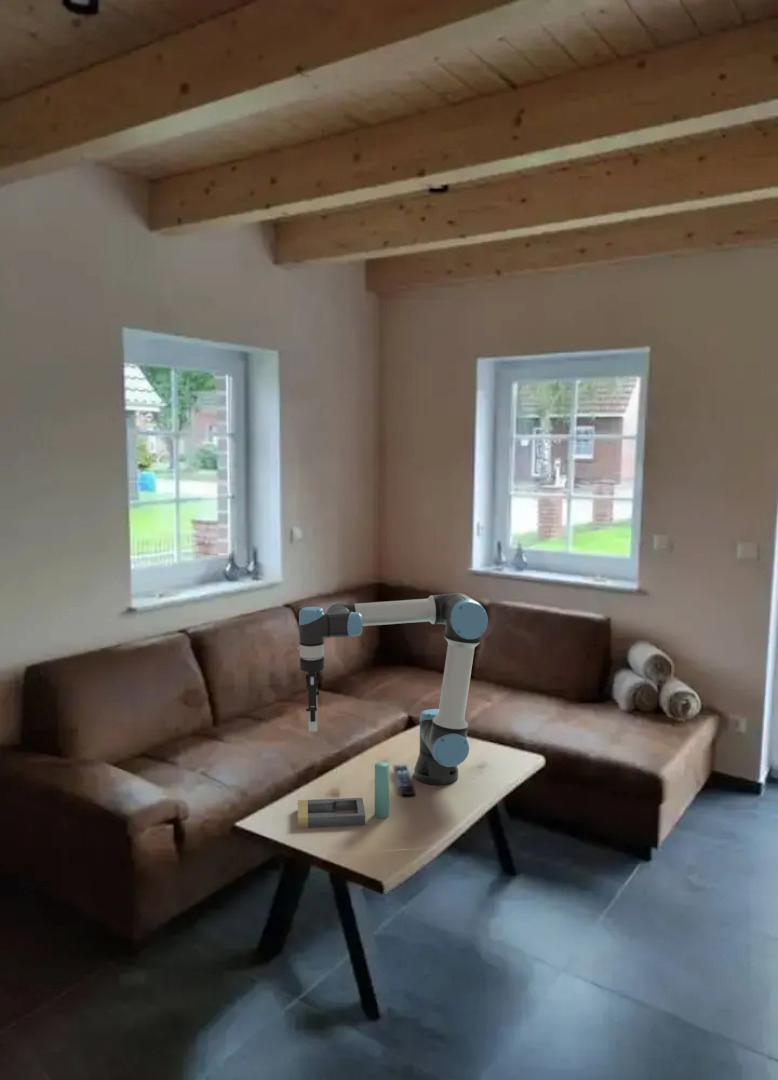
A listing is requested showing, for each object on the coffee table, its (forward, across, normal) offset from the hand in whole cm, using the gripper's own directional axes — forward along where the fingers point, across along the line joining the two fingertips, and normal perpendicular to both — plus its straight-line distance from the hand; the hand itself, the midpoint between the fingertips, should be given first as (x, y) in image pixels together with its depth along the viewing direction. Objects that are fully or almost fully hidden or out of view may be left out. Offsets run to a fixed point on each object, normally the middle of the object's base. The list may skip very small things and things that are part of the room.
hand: (313, 723), depth 246 cm
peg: (+26, +10, +20) cm, 35 cm away
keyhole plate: (+26, +11, +5) cm, 28 cm away
